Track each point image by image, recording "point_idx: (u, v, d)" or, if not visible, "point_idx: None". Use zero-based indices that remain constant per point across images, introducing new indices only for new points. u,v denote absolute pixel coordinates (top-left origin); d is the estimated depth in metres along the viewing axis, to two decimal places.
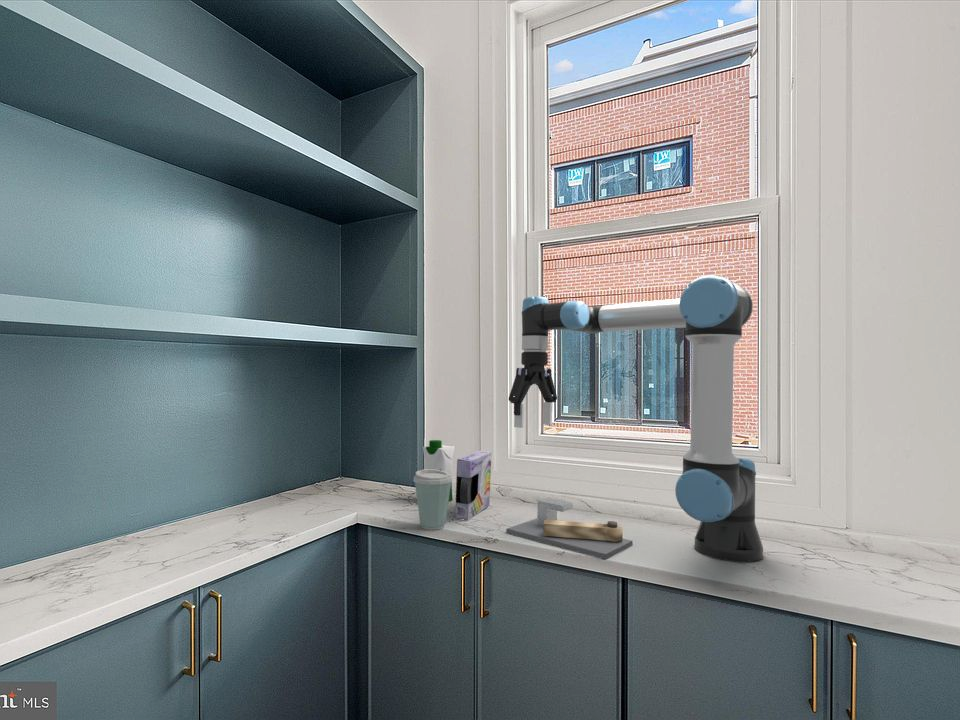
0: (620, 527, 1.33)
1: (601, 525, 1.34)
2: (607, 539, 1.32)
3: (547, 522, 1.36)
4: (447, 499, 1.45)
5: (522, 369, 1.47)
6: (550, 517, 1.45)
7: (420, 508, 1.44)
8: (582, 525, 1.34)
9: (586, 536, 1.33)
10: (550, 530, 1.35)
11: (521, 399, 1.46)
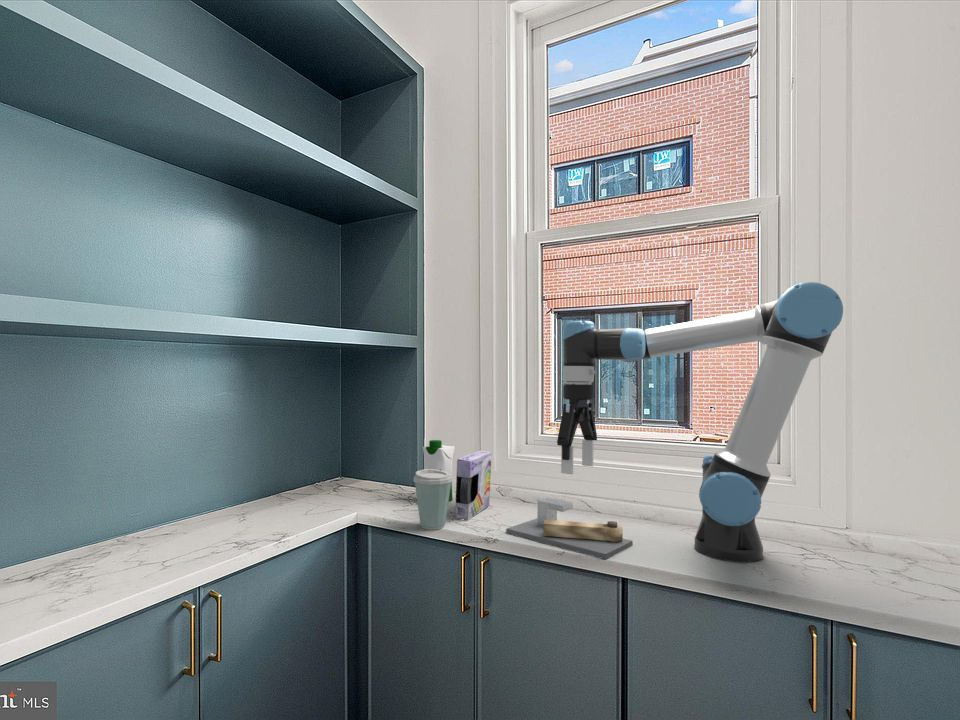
0: (620, 527, 1.33)
1: (601, 525, 1.34)
2: (607, 539, 1.32)
3: (547, 522, 1.36)
4: (447, 499, 1.45)
5: None
6: (550, 517, 1.45)
7: (419, 508, 1.44)
8: (582, 525, 1.34)
9: (586, 536, 1.33)
10: (550, 530, 1.35)
11: None
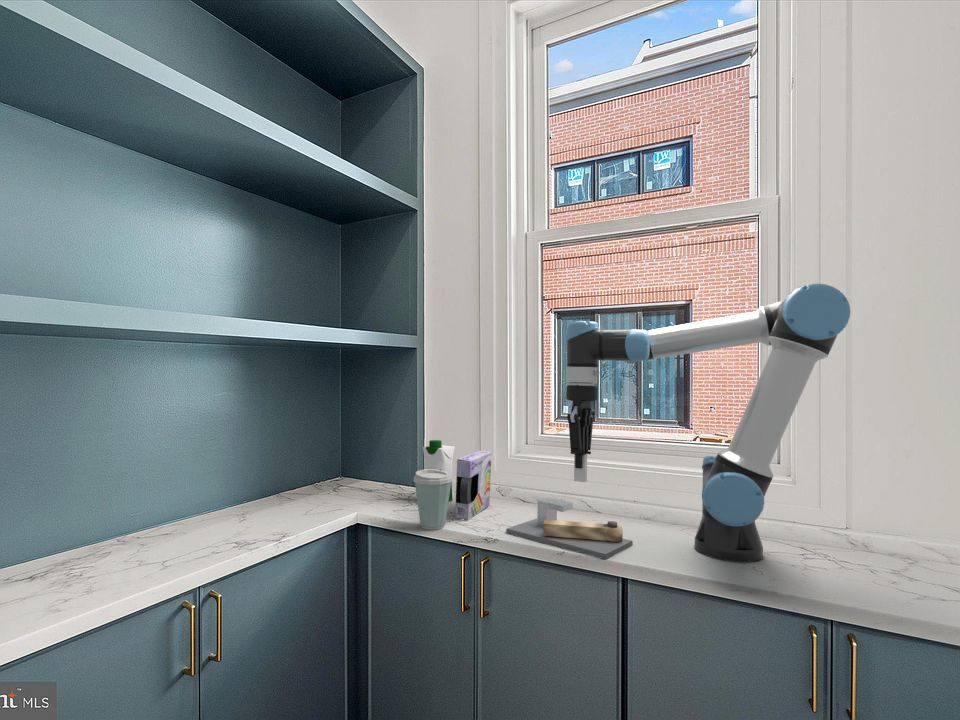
0: (620, 527, 1.33)
1: (601, 525, 1.34)
2: (607, 539, 1.32)
3: (547, 522, 1.36)
4: (447, 499, 1.45)
5: None
6: (550, 517, 1.45)
7: (419, 508, 1.44)
8: (582, 525, 1.34)
9: (586, 536, 1.33)
10: (550, 530, 1.35)
11: None
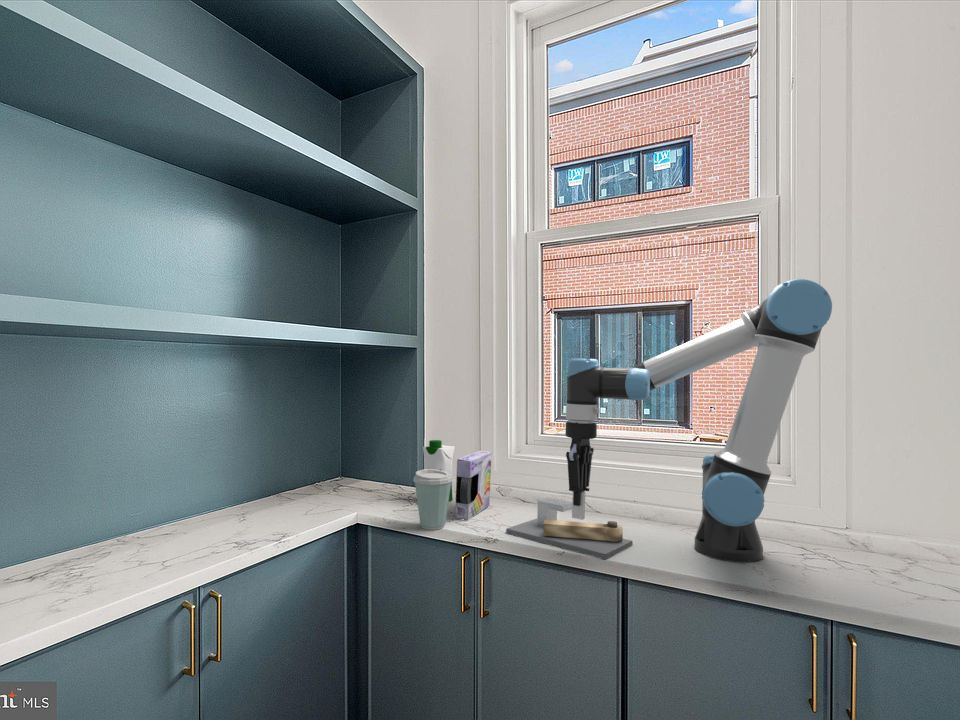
0: (620, 527, 1.33)
1: (601, 525, 1.34)
2: (607, 539, 1.32)
3: (547, 522, 1.36)
4: (447, 499, 1.45)
5: None
6: (550, 517, 1.45)
7: (420, 508, 1.44)
8: (582, 525, 1.34)
9: (586, 536, 1.33)
10: (550, 530, 1.35)
11: None
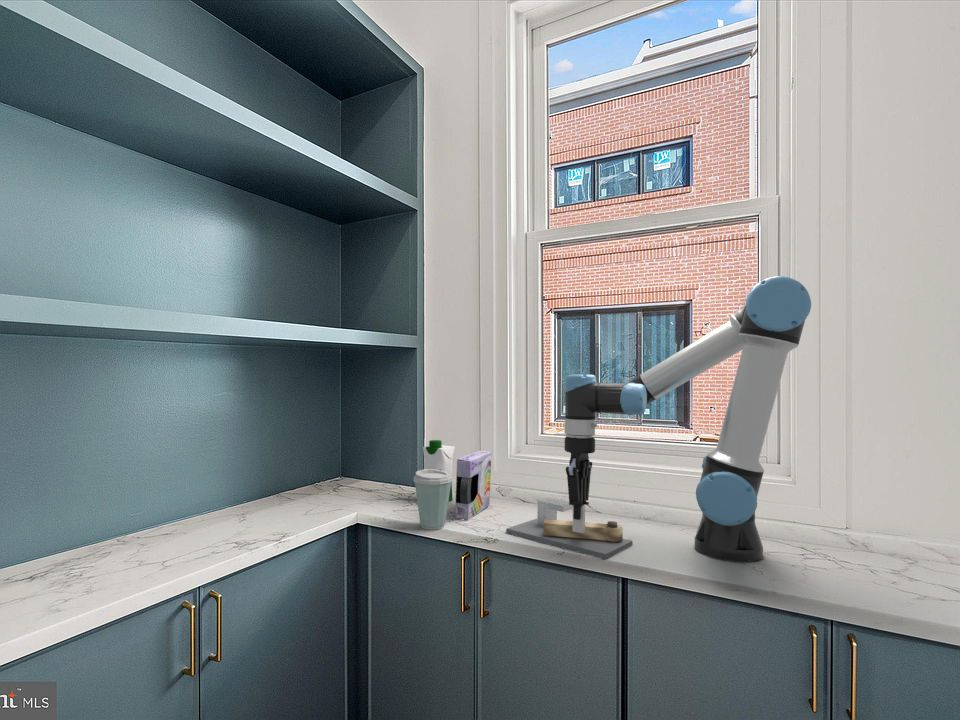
0: (620, 527, 1.33)
1: (601, 525, 1.34)
2: (607, 539, 1.32)
3: (547, 521, 1.37)
4: (447, 499, 1.45)
5: None
6: (550, 517, 1.45)
7: (420, 508, 1.44)
8: None
9: (586, 536, 1.33)
10: (549, 530, 1.35)
11: None
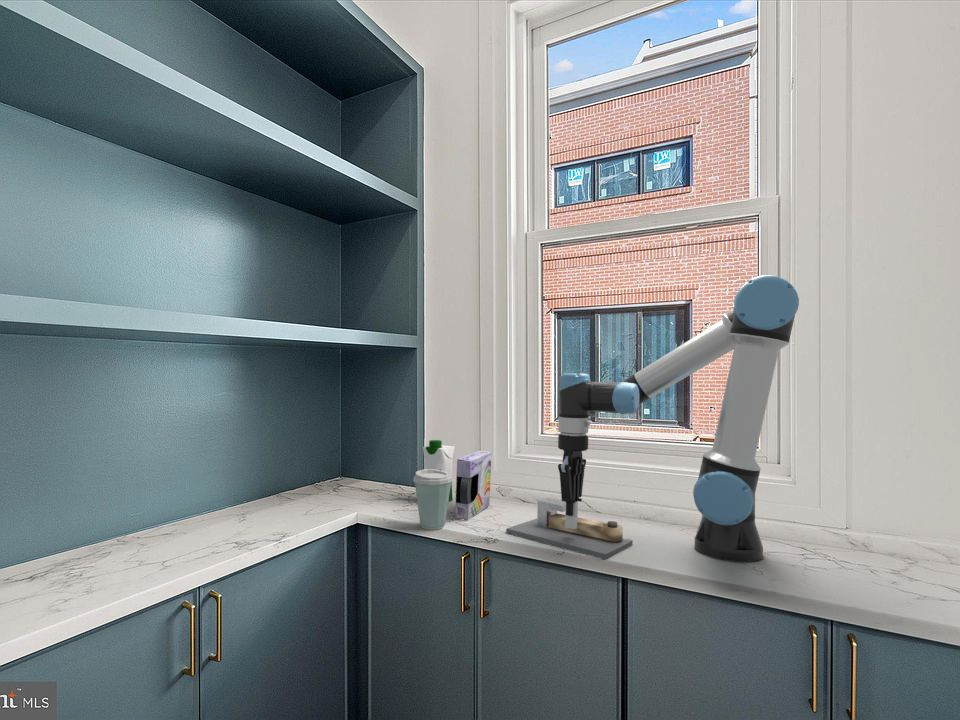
0: (619, 528, 1.32)
1: (602, 524, 1.35)
2: (603, 537, 1.33)
3: (554, 515, 1.43)
4: (447, 499, 1.45)
5: None
6: None
7: (419, 508, 1.44)
8: (583, 522, 1.37)
9: (585, 532, 1.36)
10: (554, 523, 1.41)
11: None
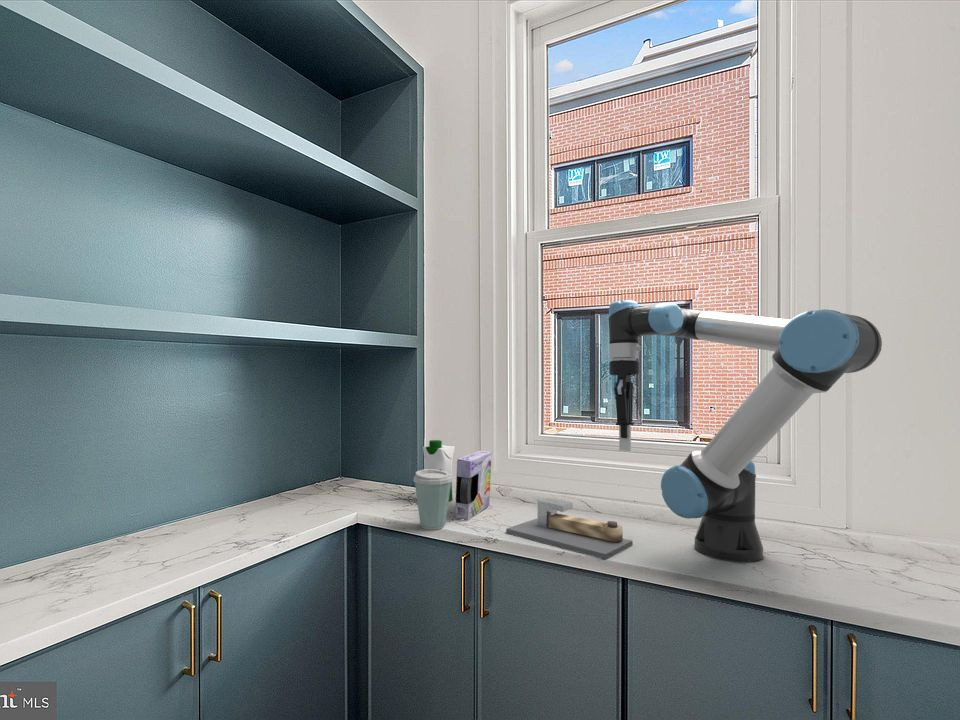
0: (619, 528, 1.32)
1: (602, 524, 1.35)
2: (603, 537, 1.33)
3: (554, 515, 1.43)
4: (447, 499, 1.45)
5: None
6: None
7: (419, 508, 1.44)
8: (583, 522, 1.37)
9: (585, 532, 1.36)
10: (554, 523, 1.41)
11: None
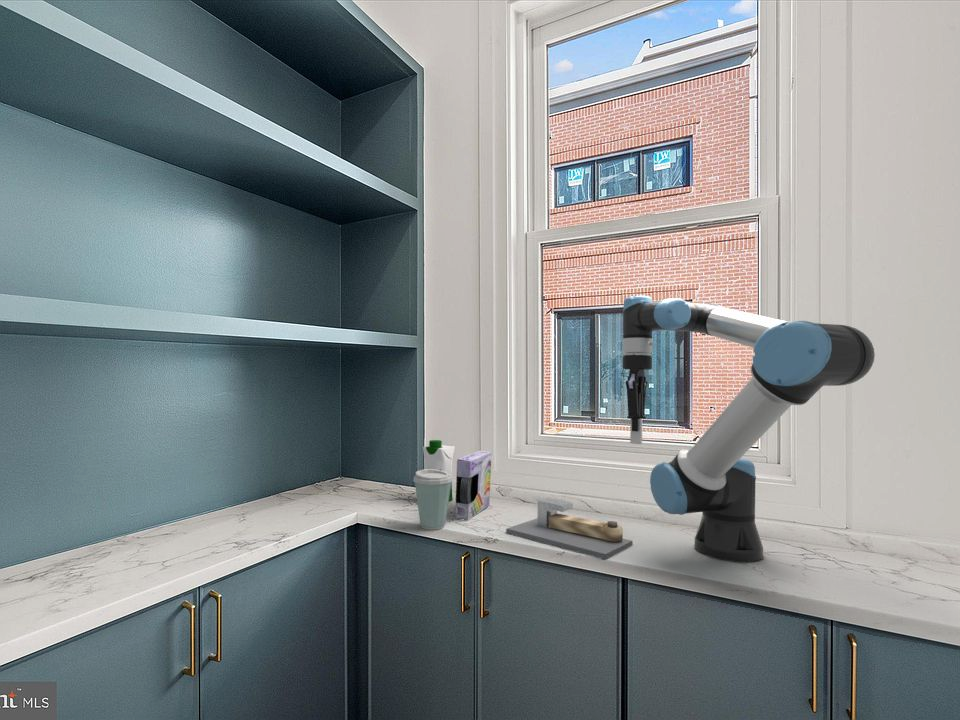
0: (619, 528, 1.32)
1: (602, 524, 1.35)
2: (603, 537, 1.33)
3: (554, 515, 1.43)
4: (447, 499, 1.45)
5: None
6: None
7: (420, 508, 1.44)
8: (583, 522, 1.37)
9: (585, 532, 1.36)
10: (554, 523, 1.41)
11: None
